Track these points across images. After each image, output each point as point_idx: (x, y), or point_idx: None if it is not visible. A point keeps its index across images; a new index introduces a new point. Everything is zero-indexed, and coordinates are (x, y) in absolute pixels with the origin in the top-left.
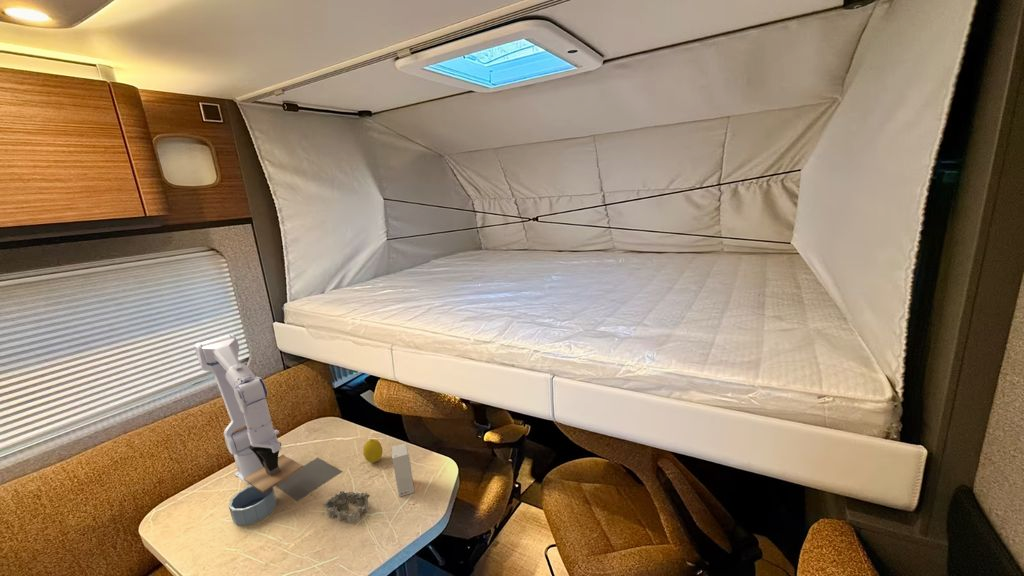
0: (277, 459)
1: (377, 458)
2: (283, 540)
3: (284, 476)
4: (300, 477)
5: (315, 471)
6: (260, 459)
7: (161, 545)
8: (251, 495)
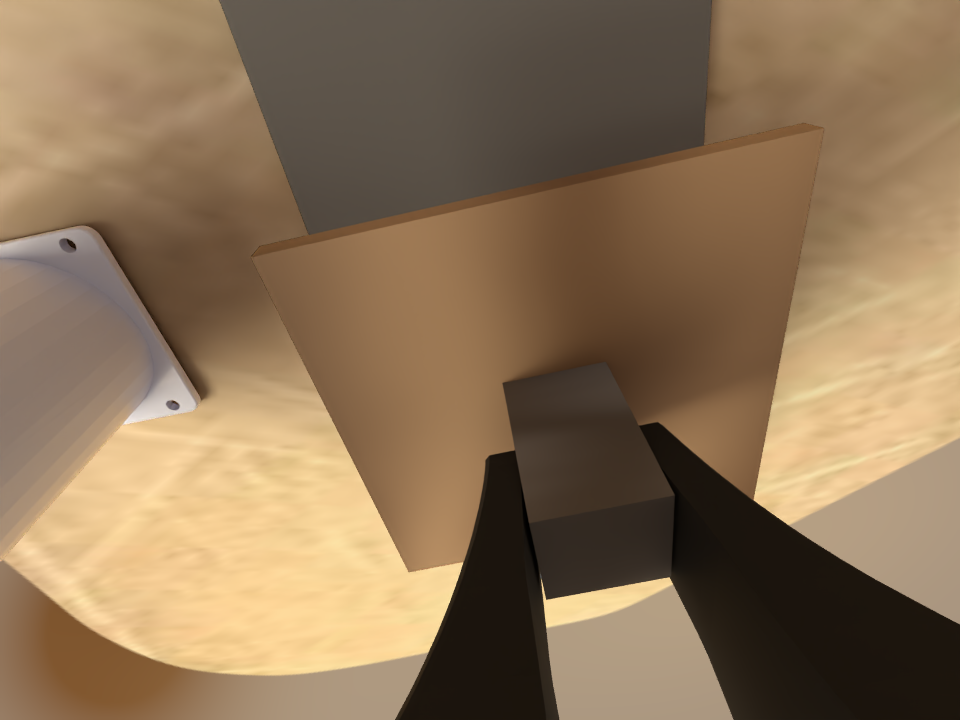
0: (731, 488)
1: None
2: (903, 358)
3: (766, 354)
4: (411, 90)
5: None
6: (546, 644)
7: (426, 648)
8: None
